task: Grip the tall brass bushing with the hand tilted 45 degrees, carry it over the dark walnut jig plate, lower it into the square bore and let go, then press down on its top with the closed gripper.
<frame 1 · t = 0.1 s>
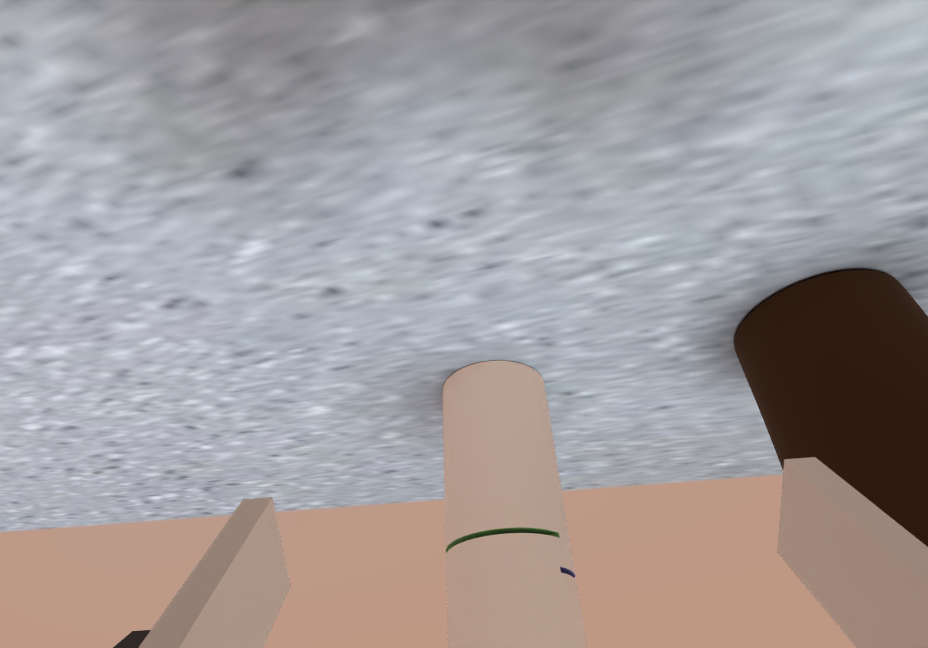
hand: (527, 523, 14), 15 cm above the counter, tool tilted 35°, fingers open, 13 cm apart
cylindrical container: (493, 387, 38), on the counter
olive oil: (811, 319, 33), on the counter
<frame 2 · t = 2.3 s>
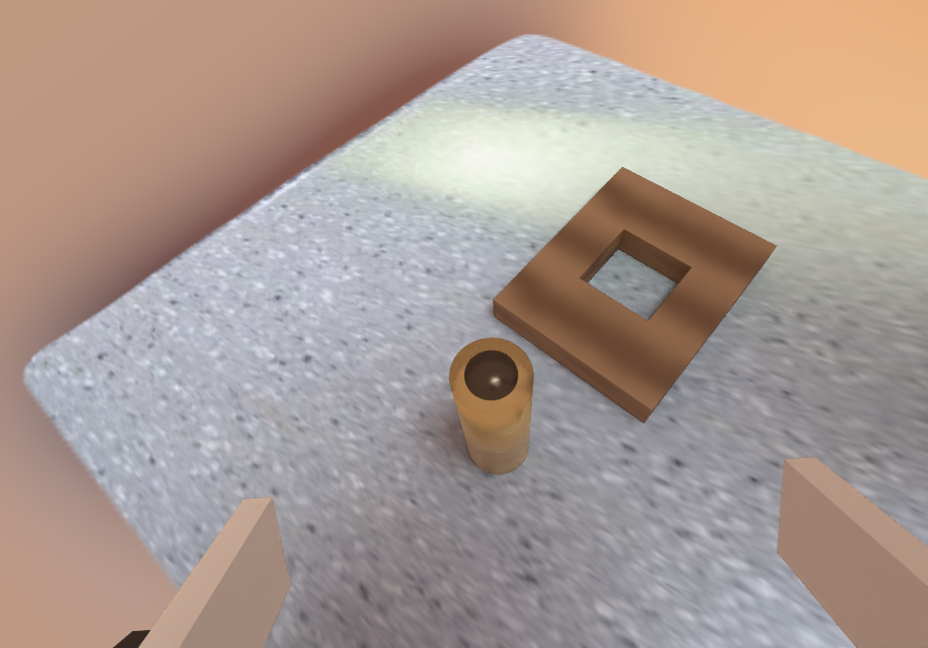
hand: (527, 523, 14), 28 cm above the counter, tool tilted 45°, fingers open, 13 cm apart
walnut jig plate: (629, 290, 50), on the counter
brass bushing: (498, 443, 44), on the counter
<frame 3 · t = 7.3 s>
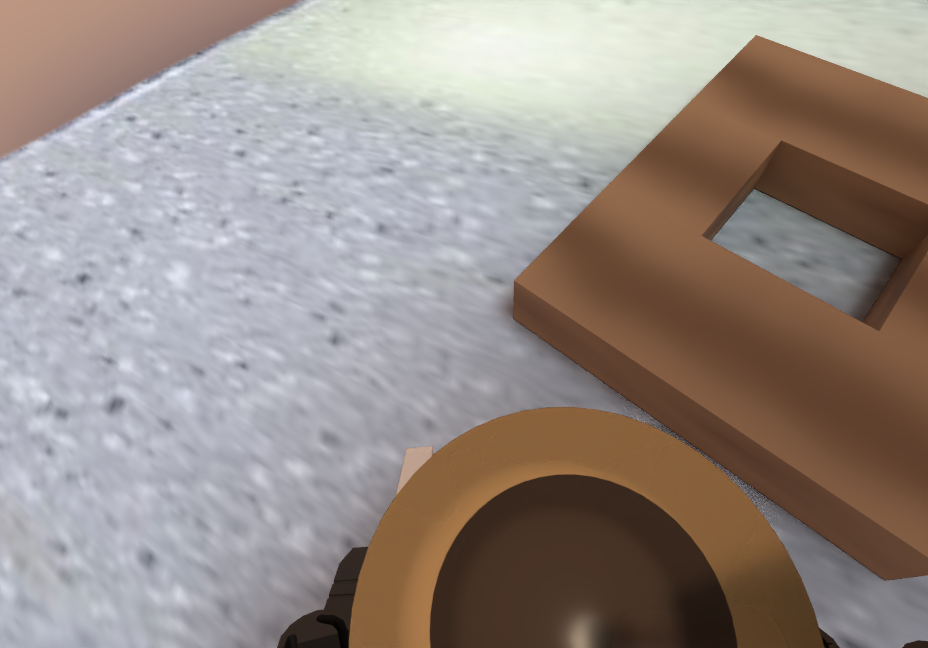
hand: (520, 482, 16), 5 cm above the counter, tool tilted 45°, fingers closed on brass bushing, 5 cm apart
walnut jig plate: (790, 268, 24), on the counter
brass bushing: (529, 627, 18), on the counter, touching gripper
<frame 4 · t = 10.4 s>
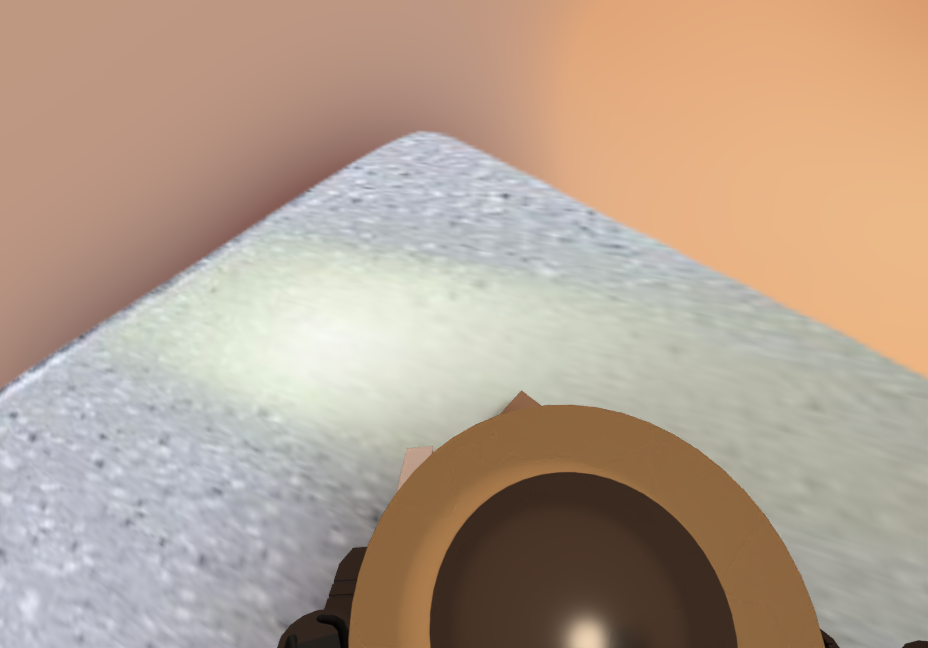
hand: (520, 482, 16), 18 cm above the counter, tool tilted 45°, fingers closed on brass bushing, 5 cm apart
walnut jig plate: (519, 626, 30), on the counter
brass bushing: (529, 627, 18), point 13 cm above the counter, touching gripper
when the fingers open (6 cm above the counter, at t = 13.5 s): brass bushing drops 1 cm, resting in walnut jig plate.
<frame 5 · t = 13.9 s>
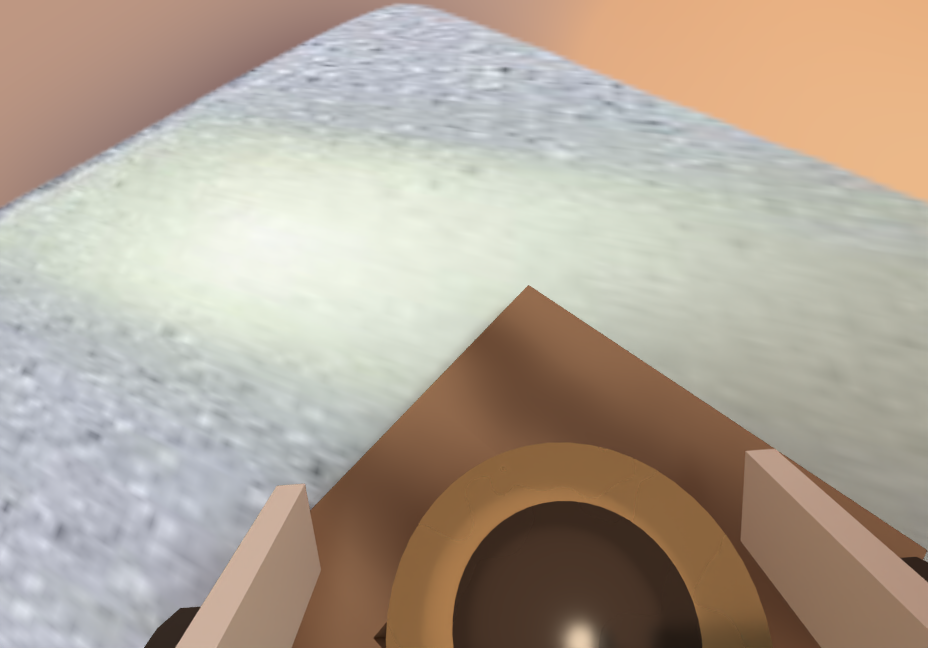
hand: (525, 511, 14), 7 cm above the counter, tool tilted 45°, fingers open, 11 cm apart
walnut jig plate: (527, 627, 19), on the counter
brass bushing: (529, 628, 19), resting in walnut jig plate
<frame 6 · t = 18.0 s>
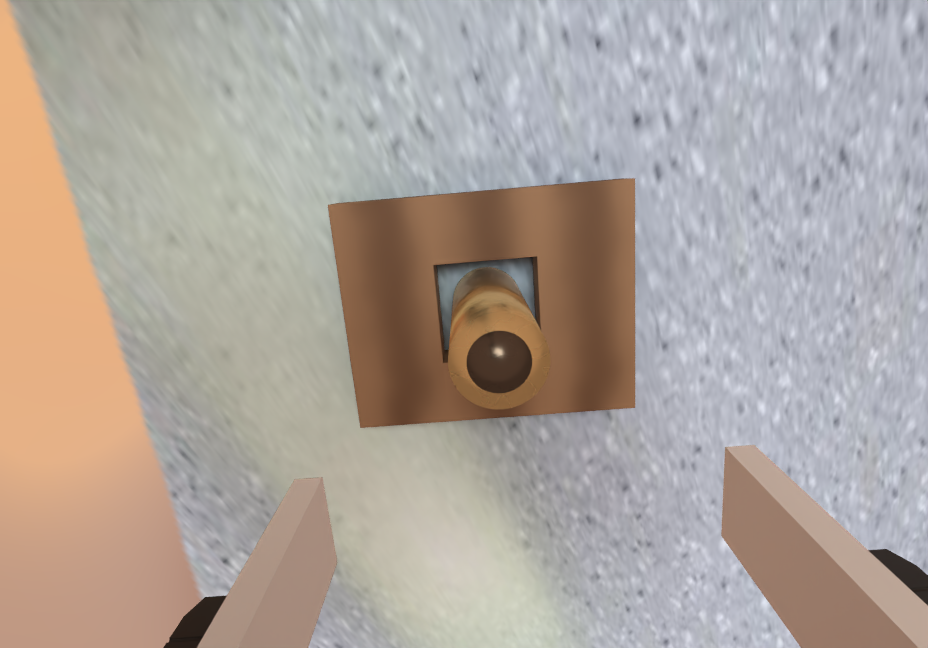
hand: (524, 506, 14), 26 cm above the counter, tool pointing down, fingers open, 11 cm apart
walnut jig plate: (487, 301, 40), on the counter
brass bushing: (486, 300, 39), resting in walnut jig plate
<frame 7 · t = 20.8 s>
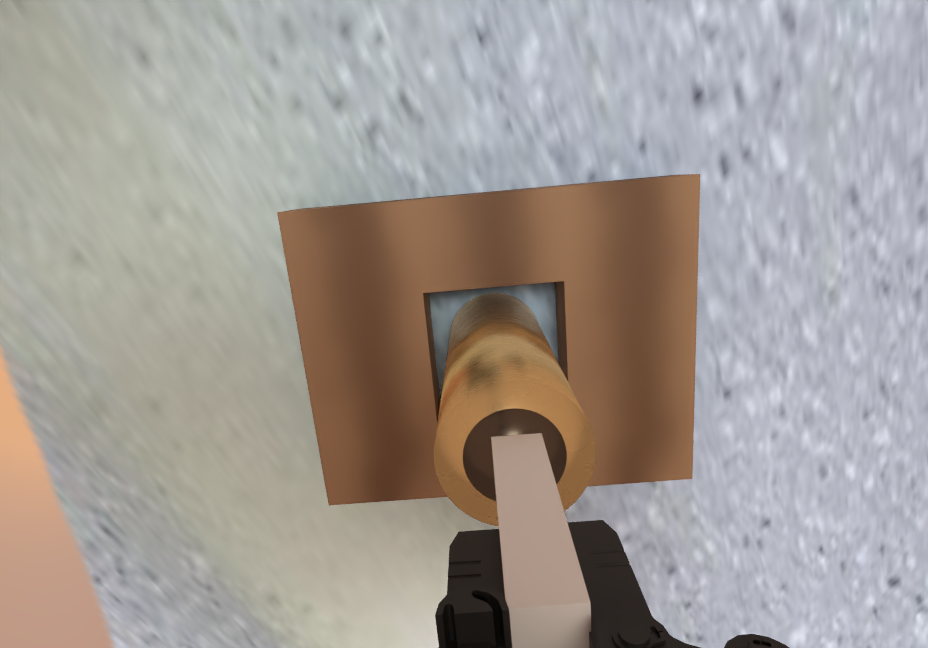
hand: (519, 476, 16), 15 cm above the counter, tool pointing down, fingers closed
walnut jig plate: (495, 337, 30), on the counter
brass bushing: (494, 336, 30), resting in walnut jig plate
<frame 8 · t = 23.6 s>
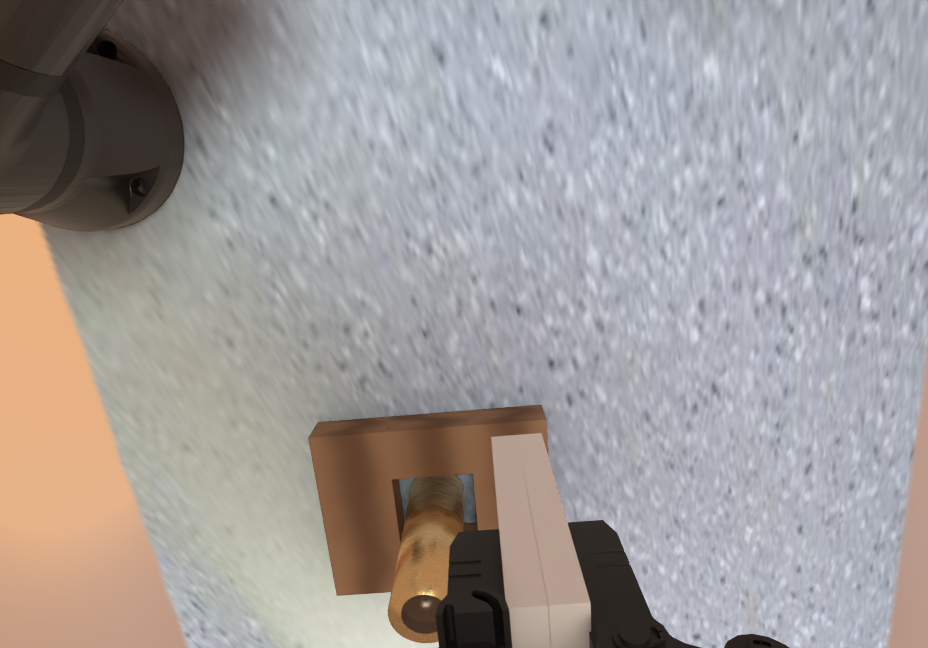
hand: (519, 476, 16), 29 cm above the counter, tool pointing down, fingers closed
walnut jig plate: (438, 492, 49), on the counter
brass bushing: (437, 492, 49), resting in walnut jig plate
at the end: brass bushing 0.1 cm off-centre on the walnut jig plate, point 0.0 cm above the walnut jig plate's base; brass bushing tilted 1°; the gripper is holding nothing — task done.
